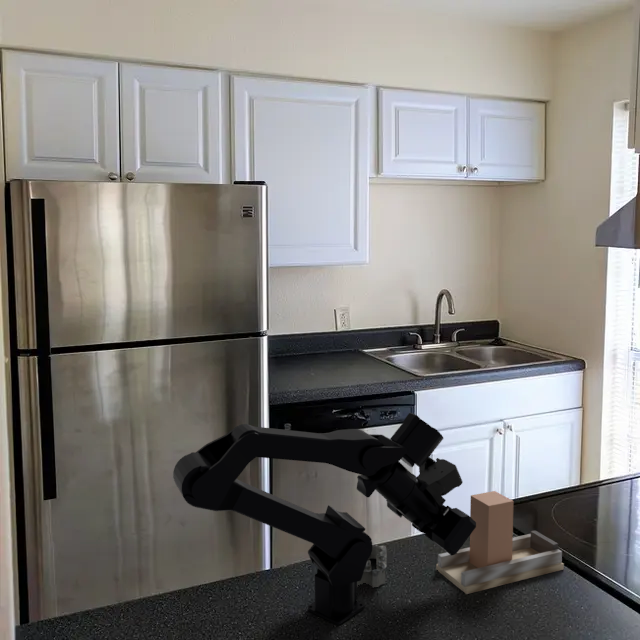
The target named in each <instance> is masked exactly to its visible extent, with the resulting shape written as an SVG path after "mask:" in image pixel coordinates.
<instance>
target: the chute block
mask: <svg viewBox="0 0 640 640" xmlns="http://www.w3.org/2000/svg"><path fill="white" fill-rule="evenodd" d="M514 503H515V501H514V500H512V499H511V498H509V497H506V496H505V495H504V494H501V493H499V492H497V491H496V490H492V491H485V492H481V493H478V494H477V493H476V494H472V495H470V510H469V511H470V512H469V514H470V515H469V516H470V517H471V518H472V519H473V520H474V521H475V522H476V528H475V529H474V530H473V532H472V533H471V534H470V536H469V547H470V563H471V564H473V565H474V566H475V567H477V568H481V567H485V566H489V565H494V564H498V563H502V562H506V561H510V560H512V543H513V534H514Z"/></svg>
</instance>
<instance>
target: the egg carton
mask: <svg viewBox="0 0 640 640" xmlns="http://www.w3.org/2000/svg"><path fill="white" fill-rule="evenodd" d="M387 552H388V551H387V547H386V545H377V544H374V545H372V552H371V555H370V557H369V559H368V560H367V563H366V566H365V570H364V573H363V576H362V579H361V581H357V588H359V586H360V584H361V585H364V584H363V583H366V584H365V585H368V584H369V586H370V587H371V586H372V587H371V588H374V587H378V588H379V587H380V586H381V585H385V584H386V570H385V569H386V568H387V558H388V557H387V556H388V555H387ZM371 559H374V560H376V563H375V564H376V569H372V564H371V563H372V561H371ZM358 585H359V586H358Z"/></svg>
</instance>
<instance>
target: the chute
mask: <svg viewBox="0 0 640 640" xmlns="http://www.w3.org/2000/svg"><path fill="white" fill-rule="evenodd" d="M562 557H563V550H560V549H559V543H558V542H556V541H554V540H553V539H551V538H549V537H548V536H545V535H544V534H542V533H541V532H539V531H537V530H531V531H530V533H528V534H524V535H519V536H514V537H513V543H512V560H510V561H506V562H502V563H498V564H494V565H489V566H485V567H481V568H477V567H475V566H474V565H473V564H471V563H470V546H469V547H465V548H460V549H459V551H458V552H457V553H456V554H455V555H452V556H451V555H450V554H449V553H447V552H446V551H445V552H443V553H438V554H437V563H436V564H435V565H436V569H435V570H436V571H437V570H438V571H437V572H439V573H440V574H441V575H442V576H444V578H446V579H447V580H448V581H449V582H450V583H452V584H453V585H454V586H456V587H457V588H458V589H460V591H462V592H464V594H465V595H468V594H472V593H477V592H481V591H484V590H488V589H493V588H496V587H499V586H502V585H503V586H504V585H508V584H511V583H515V582H519V581H523V580H528V579H530V578H535V577H540V576H543V575H547V574H551V573H554V572H559V571H562V570H564V569H565V568H564V565H565V563H563V562H562V561H563V558H562Z"/></svg>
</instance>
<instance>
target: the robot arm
mask: <svg viewBox="0 0 640 640" xmlns="http://www.w3.org/2000/svg"><path fill="white" fill-rule="evenodd" d="M443 440H444V436H443V435H442V433H441V432H440V431H438V430H437V429H436V428H435V427H433V426H431V425H430V424H429V423H427V422H426V421H424V420H422V419H421V418H420V416H419V415H417V414H416V413H413V412H409V413H408V414H407V415H406V417H405V418H404V420H403V422H402V423H401V425H400V426H399V427H398V428H397V430H396V431H395V432H394V433H393V434H392V436H391V437H390V438H389V437H388V436H385V435H384V434H377V433H376V434H369V433H368V432H365V431H363V430H362V429H359V428H347V429H345V428H344V429H337V430H333V431H330V432H324V433H320V432H318V433H317V432H309V431H300V430H290V429H279V428H272V427H271V428H270V427H265V426H264V427H262V426H261V427H260V426H253V425H250V424H249V423H241V424H239V425H237V426H235V427H234V428H233V429H231V430H230V431H228V432H227V433H226V434H224V435H223V436H220V437H217V438H216V439H213V440H212V441H210V442H208V443H206V444H204V445H203V446H202V447H201V448H199V449H198V450H197V451H195V452H191V453H188V454H186V455H184V456H182V457H181V458H180V459H179V460H178V461H177V462H176V464H175V466H174V468H173V470H172V473H173V474H172V476H173V477H172V478H173V481H174V483H175V485H176V487H177V489H178V490H179V493H180V494H181V496H182V497H183V499H184V501H186V503H187V504H188V505H189V506H192V507H194V508H197V509H201V510H202V509H203V510H209V511H213V512H235V513H237V514H241V515H242V516H245V517H247V518H250V519H253V520H255V521H257V522H260V523H261V524H265V525H267V526H270V527H272V528H275V529H276V530H279V531H281V532H284V533H287V534H289V535H290V536H294V537H296V538H299V539H301V540H304V541H306V542H309V543H311V544H312V545H311V546H310V547H309V549H308V550H307V554H308V557H309V559H310V561H311V563H312V564H314V566H315V567H316V568H317V570H316V574H314V576H313V577H314V601H313V602H312V603H310V604H309V605H307V608H306V609H307V611H309V612H310V613H313V614H314V615H316V616H318V617H321V618H322V619H325V621H326V620H327V621H328V622H331V623H332V624H335V625H341V624H343V623H344V622H345V621H347V620H348V619H350V618H352V617H353V616H355V615H356V614H358V613H359V612H361V611H362V610H364V608H365V604H364V603H363V602H360V601H359V600H357V599H358V587H357V581H361V579H362V576H363V573H364V570H365V566H366V563H367V560H368V559H369V557H370V555H371V552H372V546H373V541H372V538H371V536H370V535H369V534H367V533H366V532H365V531H366V527H365V526H363V525H362V524H361V523H360V522H358V520H357V519H355V518H354V517H353V516H352V515H350V514H349V513H348V512H346V511H345V512H342V511H339V510H337V509H335V508H334V507H332V506H331V505H329V504H328V505H327V507H326V510H325V512H323V513H319V512H318V513H316V512H313V511H312V510H309V509H306V508H305V507H302V506H300V505H297V504H295V503H294V502H293V503H292V502H290V501H288V500H286V499H283V498H282V497H278V496H276V495H274V494H272V493H269V492H268V491H265V490H263V489H260V488H257V487H255V486H254V485H251V484H248V483H246V482H243V481H242V480H239V479H238V478H239V476H240V475H241V474H242V472H243V471H244V470H245V468H246V467H247V466H248V465H249V463H251V462H252V461H253V460H255V459H256V458H263V459H273V460H274V459H276V460H285V461H296V462H298V461H299V462H307V463H308V462H309V463H310V462H311V463H320V464H321V463H322V464H328V465H331V466H335V467H337V468H340V469H342V470H344V471H347V472H351V473H354V474H358V475H357V484H356V490H357V491H358V492H359V493H361V494H362V495H363V496H364V497H366V498H370V497H371V496H372V494H373V493H374V492H375V491H376V492H378V494H379V495H381V496H382V497H383V498H384V499H385V500H386V507H387V508H388V509H389V510H391V512H392V513H394V514H395V515H396V516H398V517H399V518H402V517H403V518H404V519H406V520H407V521H409V523H410V524H411V526H412V527H413V528H414V529H416V530H417V531H418V532H420V533H422V534H425V535H424V536H425V537H427V539H429V540H430V541H432V542H433V543H435V544H436V545H437V546H439V548H440V549H442V550H443V551H444V552H445V553H446V552H447V553H449V554H450V555H451V556H452V555H455V554H456V553H457V552H458V551H459V550H460V549H462V547H463V546H464V544H465V542H466V541H467V540H468V538H470V534H471V533H472V532H473V530H474V529H475V528H476V522H475V521H474V520H473V519H472V518H471V517H470V515H469V514H468V513H466V512H464V511H462V510H461V509H459V508H458V507H455V508H452V507H450V506H449V505H444V504H445V502H446V499H445V498H444V496H446V495H447V494H449V493H451V491H453V490H454V489H455V488H459V487H460V486H461V485H463V479H462V476H461V474H460V472H459V470H458V468H457V465H456V464H454V463H453V462H450V461H449V460H447V459H443V458H442V459H440V458H439V457H437V458H435V460H434V459H433V458H432V457H430V456H431V455H432V454H433V452H435V450H436V449H437V448H438V446H439V445H440V444H441V443H442V441H443ZM400 461H402V462H403V463H405V464H406V465H408V466H409V467H410V468H413V467H415V465H416V467H418V470H419V471H418V472H419V474H418V475H417V476H416V475H415V474H413V473H412V472H410V470H408V469H407V467H405V465H403V464H402V463H401V462H400ZM369 560H370V559H369Z"/></svg>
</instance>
